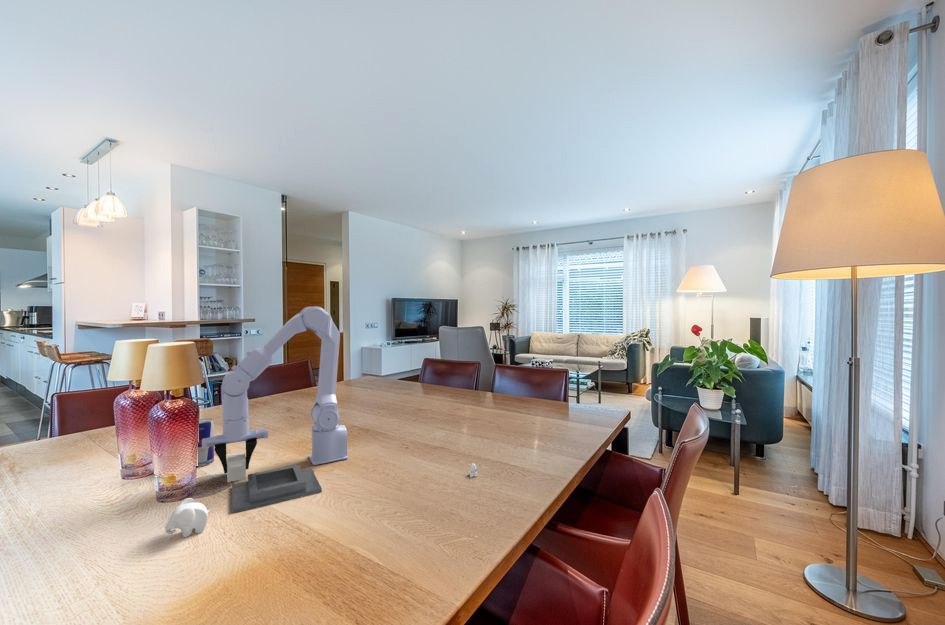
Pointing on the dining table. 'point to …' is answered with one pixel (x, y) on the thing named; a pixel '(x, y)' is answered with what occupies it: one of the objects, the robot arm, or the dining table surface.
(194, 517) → the elephant figurine
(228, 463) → the block
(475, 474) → the grey lumpy piece
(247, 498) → the plate
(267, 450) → the dining table surface
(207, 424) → the energy drink
